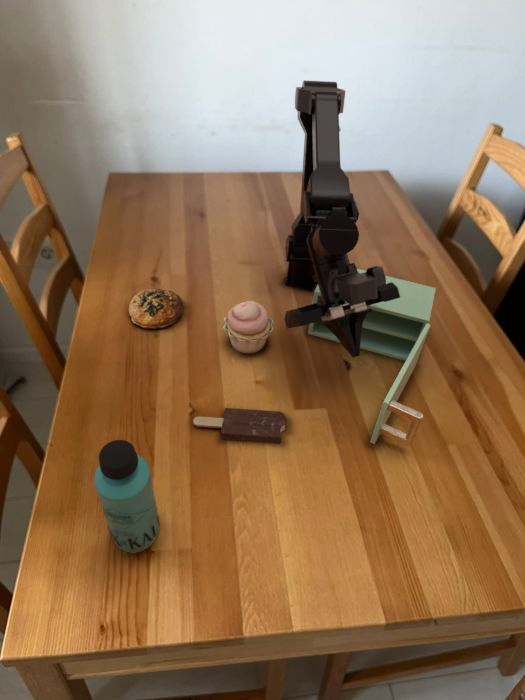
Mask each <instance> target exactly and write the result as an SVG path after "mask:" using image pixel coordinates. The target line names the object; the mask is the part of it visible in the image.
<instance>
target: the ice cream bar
mask: <svg viewBox="0 0 525 700" xmlns="http://www.w3.org/2000/svg"><path fill="white" fill-rule="evenodd" d="M192 423H193V425H194V426H195V427H197V428H199V427H200V428H214V429H221V430H220V431H221V432H220V433H221V439H222V440H232V441H243V442H245V441H246V442H259V443H260V442H261V443H274V444H280V443H281V442H282V436H281V433H282V432H283V431H286V430H287V417H286V414H285V413H284V412H282V411H278V410H277V411H276V410H262V409H250V408H249V409H248V408H235V407H233V408H232V407H225V408H224V411H223V417H214V416H213V417H212V416H201V415H200V416H195V417H194V418H193V420H192Z"/></svg>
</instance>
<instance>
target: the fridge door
mask: <svg viewBox="0 0 525 700" xmlns="http://www.w3.org/2000/svg"><path fill="white" fill-rule="evenodd" d="M430 329H431V324H430V323H428V324H427V323H426V325H425V327H424V329H423V330H422V332H421V334H420V336H419V338H418V339H417V341H416V343H415V345H414V347H413V349H412V350H411V352H410V354H409V356H408V358H407V359H406V361H405V360H404V363H403V364H402V367H401V369H400V370H399V372H398V374H397V375H396V378H395V380H394V381H393V383H392V385H391V386H390V388H389V390H388V393H386V396H385V398H384V400H383V402H382V405H381V407H380V410H379V413H378V417H377V419H376V422H375V426H374V428H373V431H372V434H371V437H370V440H369V443H370V444H372V445H375V444H376V442H377V440H378V439H379V437H380V435H383V436H385V437H387V438H390V439H392V440H394V441H395V442H398V443H400V444H402V445H404V446H408V447H410V446H412V443H413V442H414V439H415V437H416V434H417V432H418V431H419V428H420V426H421V423H422V421H423V419H424V414H423V413H422V412H420V411H419V410H416V409H414V408H411V407H409V406H407V405H405V404H402V403H400V402H398V401H399V398H400V396H401V395H402V393H403V391H404V389H405V387H406V385H407V383H408V381H409V380H410V377H411V375H412V373H413V372H414V370H415V368H416V366H417V364H418V360H419V358H420V355H421V353H422V349H423V347H424V345H425V341H426V339H427V337H428V335H429V331H430ZM391 413H394V414H396V415H399V416H400V417H403V418H405V419H407V420H409V421H411V423H410V425H409V428H408V431H407V432H406V433H405V432H403V431H402V430H400V429H397V428H396V427H393V426H391V425H388V424H387V421H388V419H389V417H390V416H391Z"/></svg>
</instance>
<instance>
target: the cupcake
mask: <svg viewBox="0 0 525 700" xmlns="http://www.w3.org/2000/svg"><path fill="white" fill-rule="evenodd" d="M223 321H224V322H225V324H224V325H223V326H222V328H223V330H224V331H225V332H226V334H227V335H228V338H229V340H230V344H231V346H232V348H233V349H235V350H236V351H237V352H239V353H242V354H247V355H249V354H255V353H258V352H259V351H261V350H262V349H263V348H264V346H265V344H266V342H267V339H268V337H269V335H270V334H271V333H272V332H273V330H274V327H273V323H274V321H275V320H274V319H272V318H270V317H269V314H268V311H267V310H266V308H265V307H264V305H262V304H261V303H259V302H257V301H254V300H246V301H243V302H240V303H238V304H236V305H235V306H233V307H232V308H231V309H230V310H229V312H228V314H227V316H225V317H224V318H223Z"/></svg>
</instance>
